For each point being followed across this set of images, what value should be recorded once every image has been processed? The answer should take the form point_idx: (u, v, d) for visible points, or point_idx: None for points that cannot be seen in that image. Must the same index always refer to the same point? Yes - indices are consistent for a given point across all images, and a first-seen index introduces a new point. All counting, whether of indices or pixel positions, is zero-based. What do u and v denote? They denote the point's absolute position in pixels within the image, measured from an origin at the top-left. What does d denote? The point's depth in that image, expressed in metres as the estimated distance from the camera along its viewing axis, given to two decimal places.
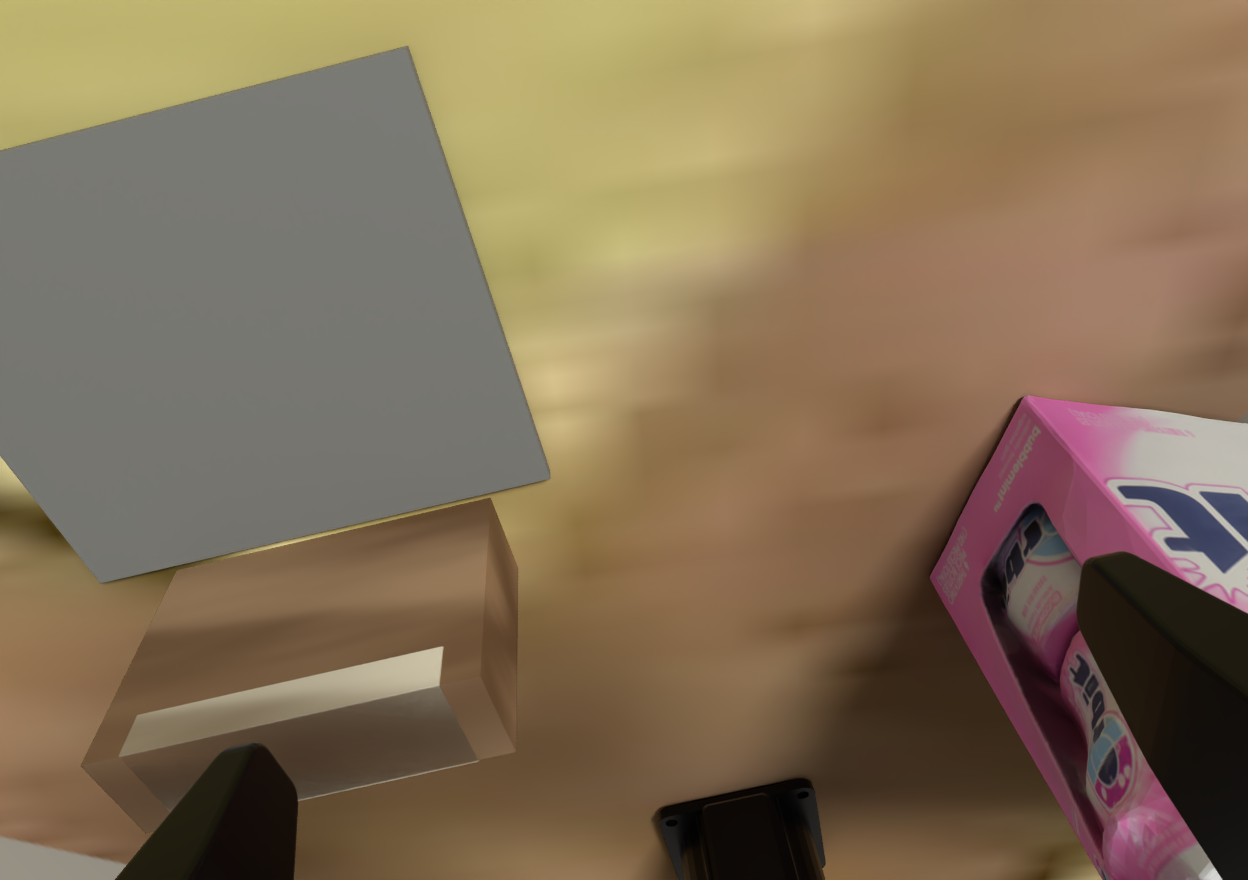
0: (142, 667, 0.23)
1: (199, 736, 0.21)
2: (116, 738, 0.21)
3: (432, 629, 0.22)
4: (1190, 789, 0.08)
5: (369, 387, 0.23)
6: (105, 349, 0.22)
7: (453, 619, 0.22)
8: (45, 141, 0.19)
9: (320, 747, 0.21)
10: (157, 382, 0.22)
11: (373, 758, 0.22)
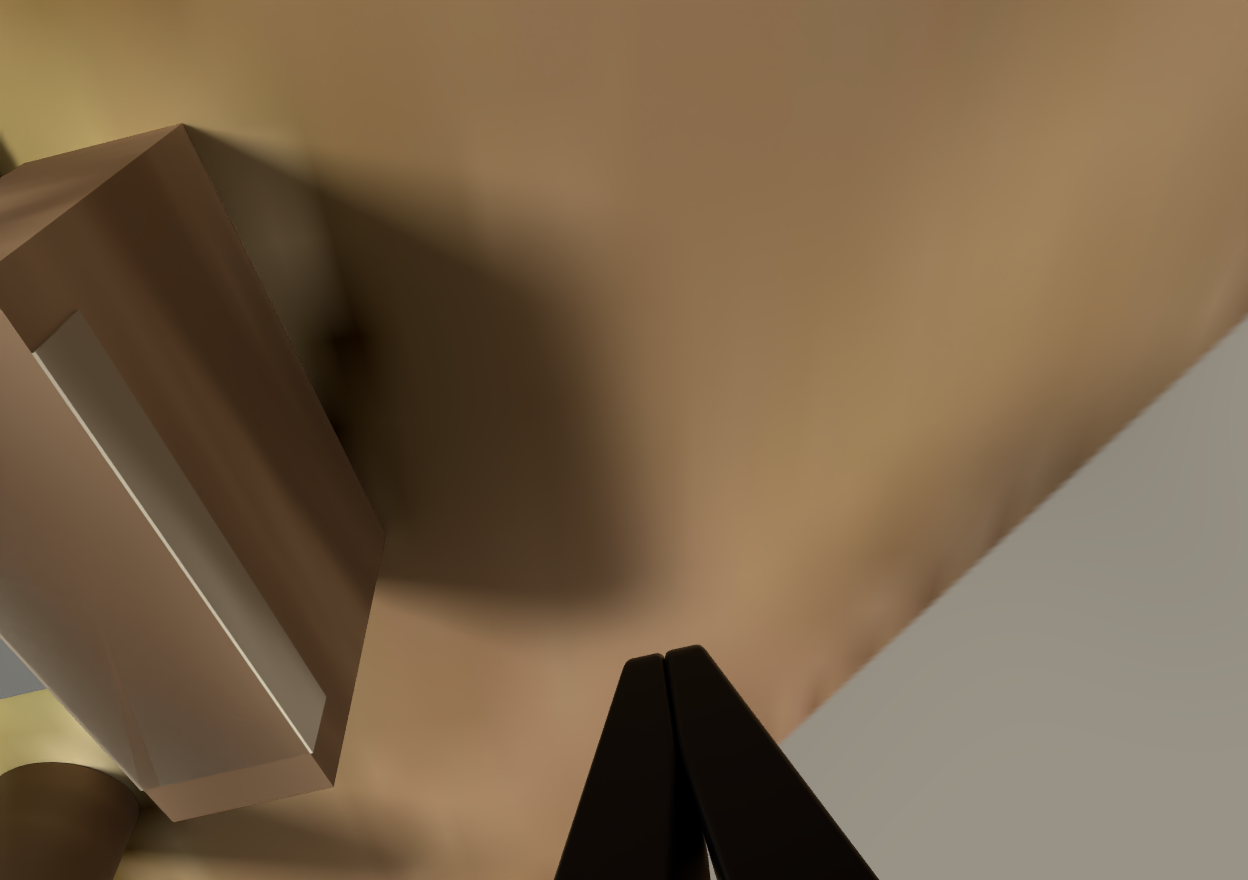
0: None
1: (75, 715, 0.14)
2: None
3: None
4: None
5: None
6: None
7: None
8: None
9: (59, 590, 0.12)
10: None
11: (72, 523, 0.12)
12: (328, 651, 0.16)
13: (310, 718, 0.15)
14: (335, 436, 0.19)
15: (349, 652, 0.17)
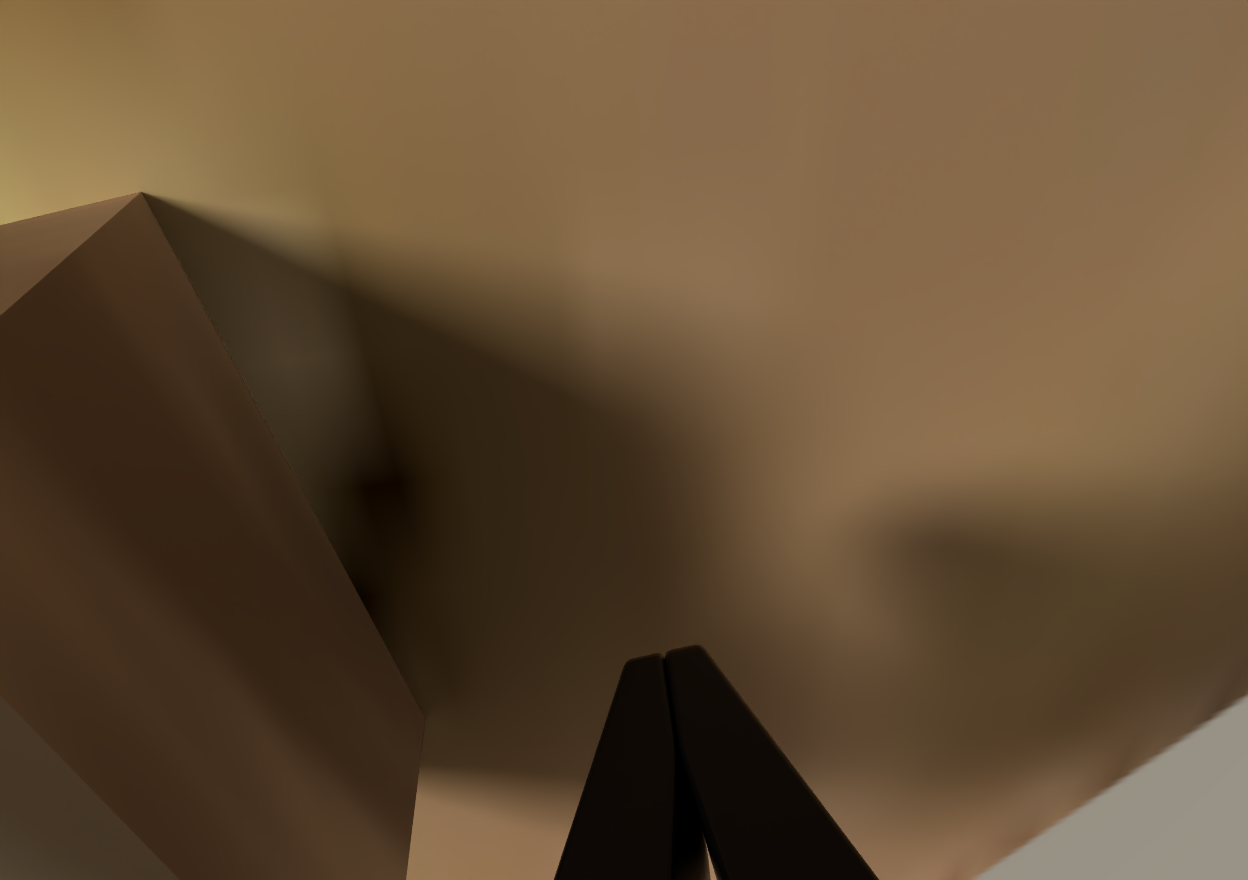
0: None
1: None
2: None
3: None
4: None
5: None
6: None
7: None
8: None
9: None
10: None
11: None
12: None
13: None
14: (362, 606, 0.14)
15: None
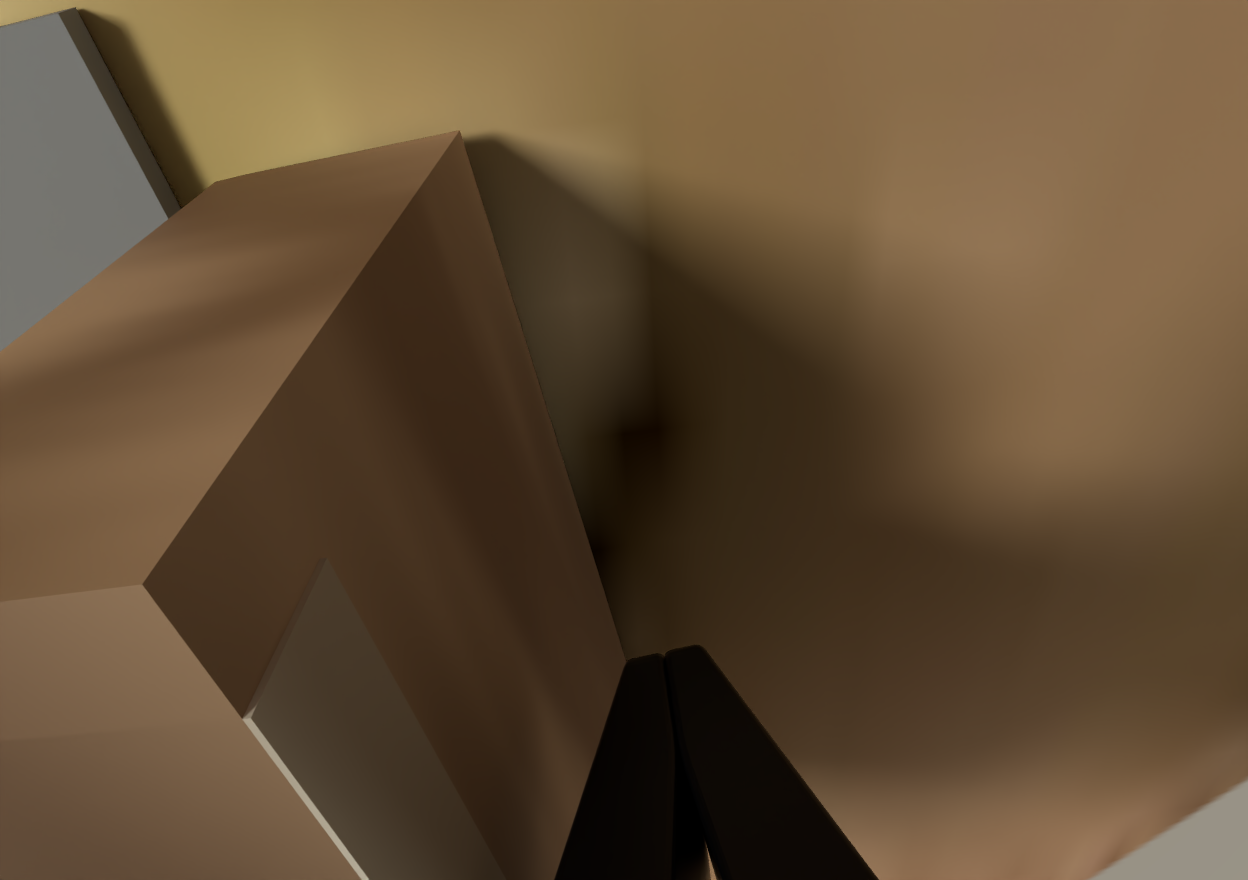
0: None
1: None
2: None
3: None
4: None
5: None
6: None
7: None
8: None
9: None
10: None
11: None
12: None
13: None
14: (598, 579, 0.13)
15: None
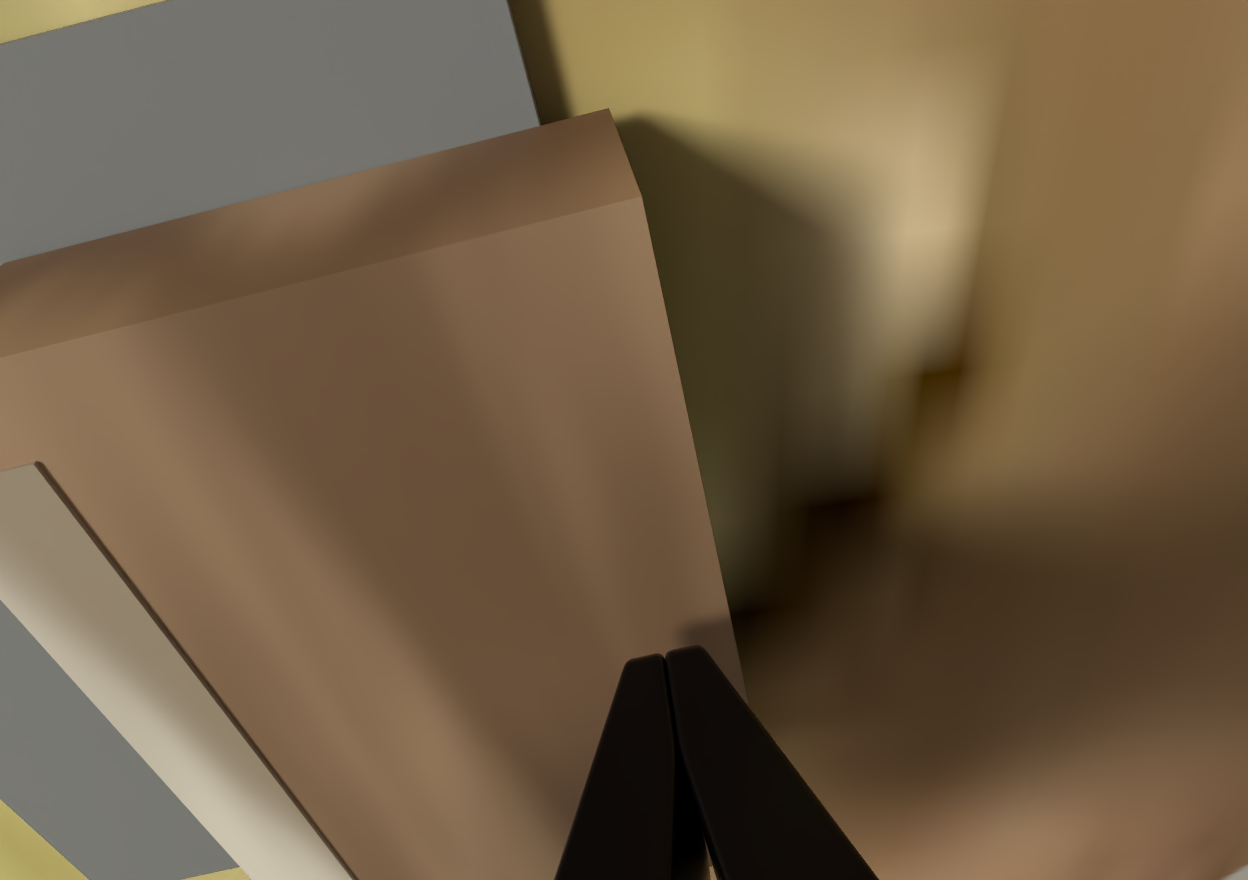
0: None
1: None
2: None
3: None
4: None
5: None
6: None
7: None
8: None
9: None
10: None
11: None
12: None
13: None
14: None
15: None
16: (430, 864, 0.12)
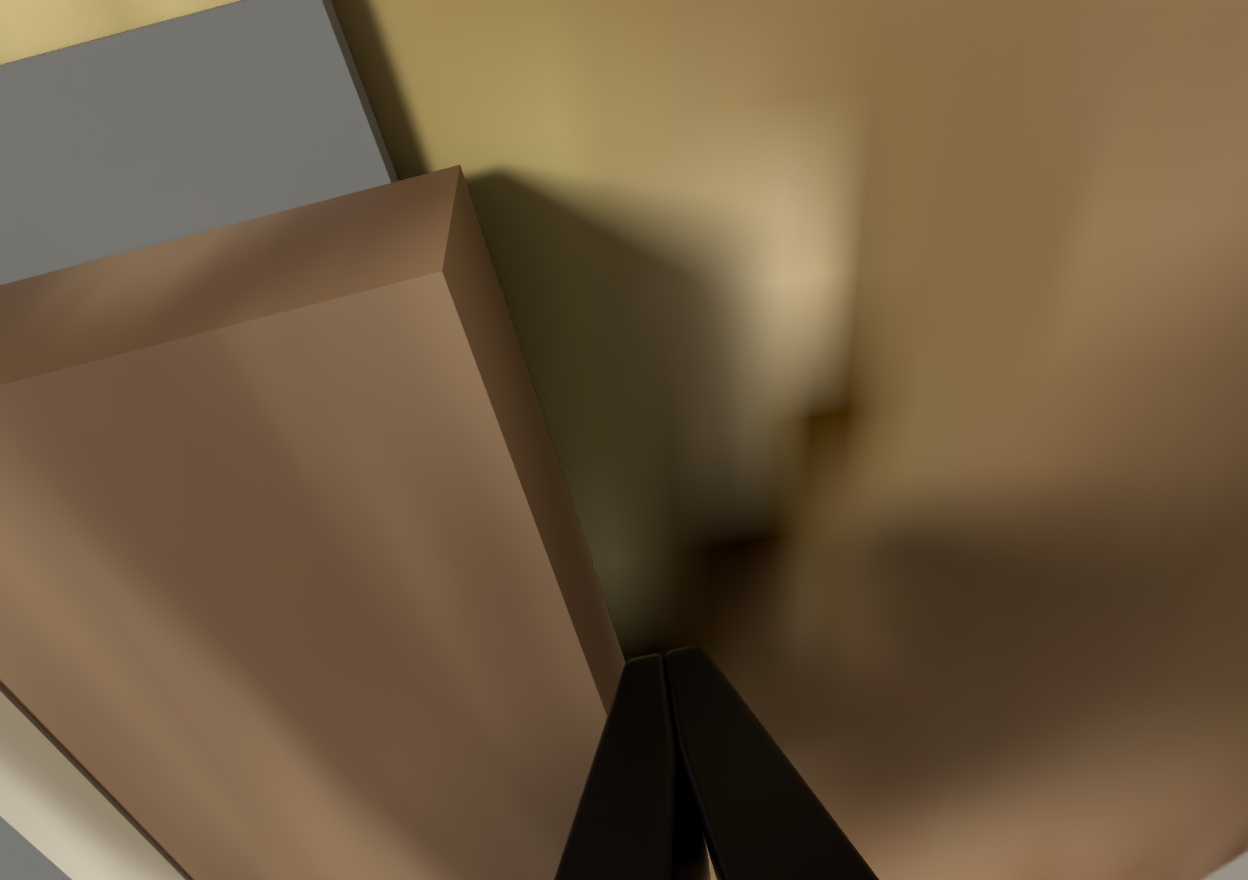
0: None
1: None
2: None
3: None
4: None
5: None
6: None
7: None
8: None
9: None
10: None
11: None
12: None
13: None
14: None
15: None
16: None
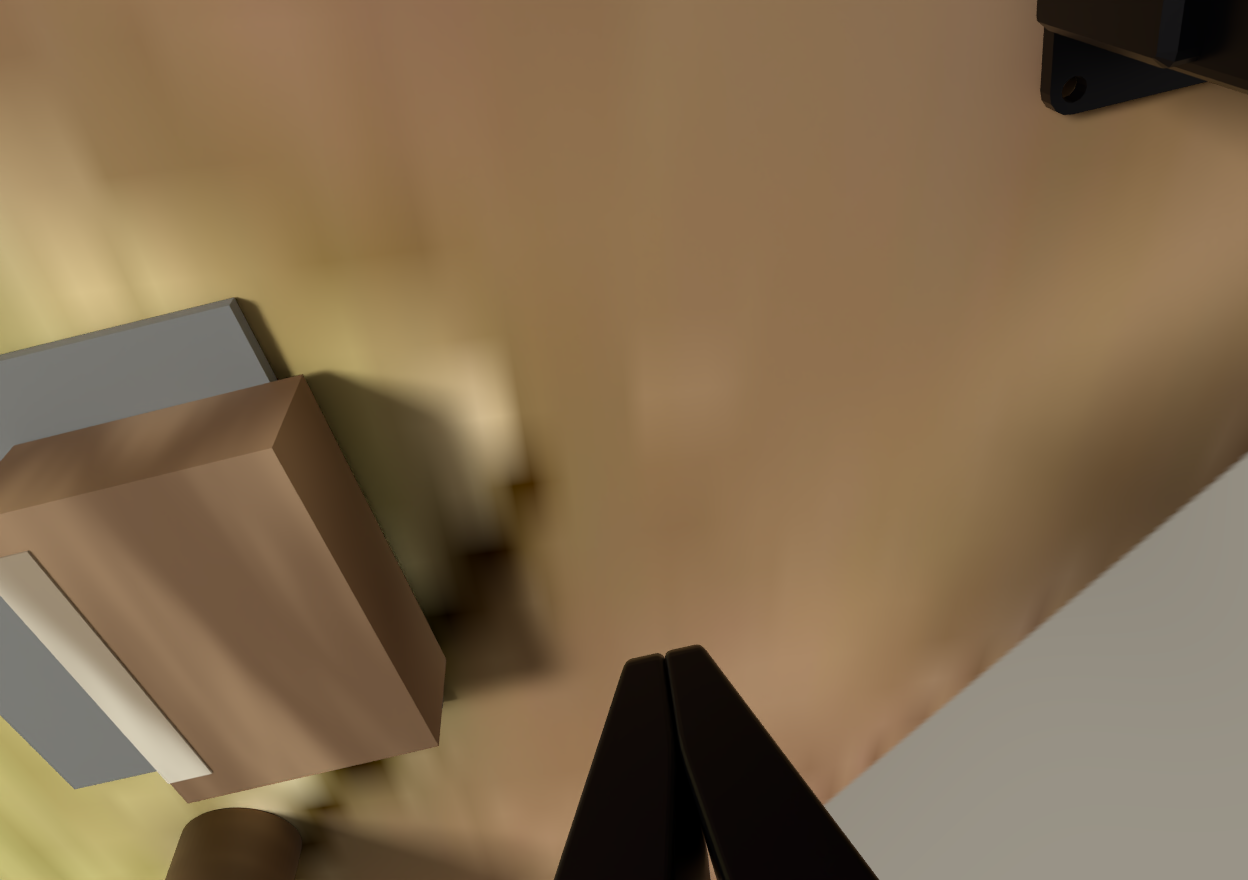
0: None
1: None
2: None
3: None
4: None
5: None
6: None
7: None
8: None
9: None
10: None
11: None
12: (242, 759, 0.22)
13: (178, 772, 0.22)
14: (391, 673, 0.21)
15: (278, 771, 0.23)
16: (240, 749, 0.22)
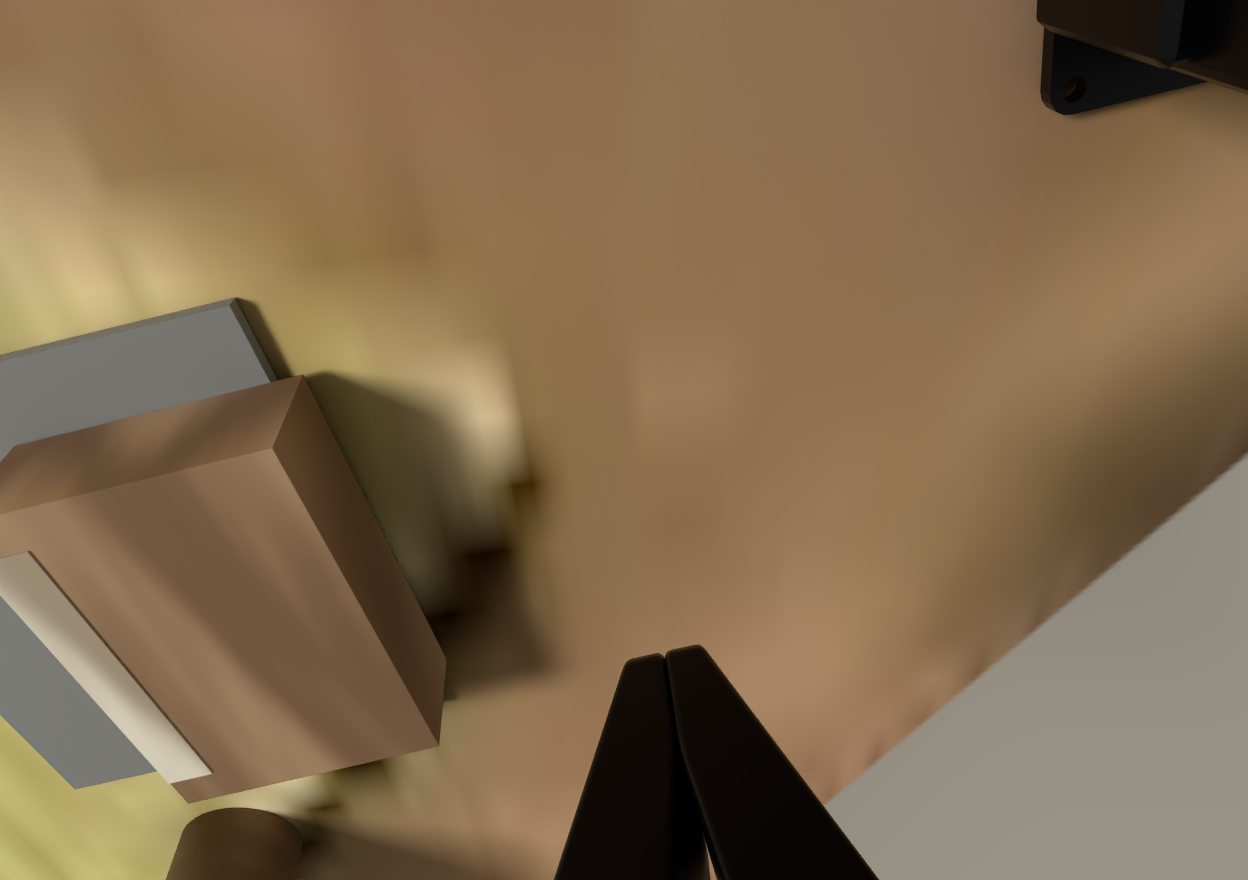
0: None
1: None
2: None
3: None
4: None
5: None
6: None
7: None
8: None
9: None
10: None
11: None
12: (242, 759, 0.22)
13: (178, 772, 0.22)
14: (391, 673, 0.21)
15: (279, 771, 0.23)
16: (241, 749, 0.22)
